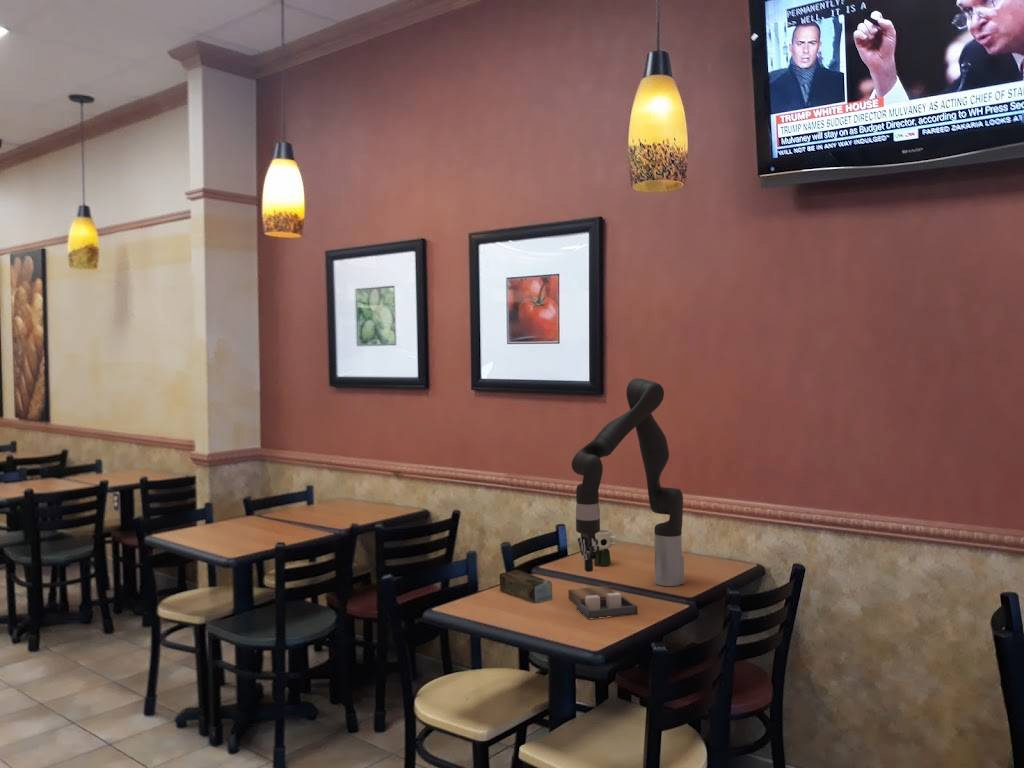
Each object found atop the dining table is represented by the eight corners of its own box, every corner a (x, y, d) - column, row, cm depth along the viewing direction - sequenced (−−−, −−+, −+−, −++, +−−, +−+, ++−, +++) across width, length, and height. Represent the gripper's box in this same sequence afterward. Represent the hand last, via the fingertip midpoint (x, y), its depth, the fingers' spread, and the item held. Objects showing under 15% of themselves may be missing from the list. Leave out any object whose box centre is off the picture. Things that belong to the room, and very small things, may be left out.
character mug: (585, 565, 308) (585, 531, 308) (591, 561, 315) (591, 527, 314) (613, 568, 304) (613, 533, 303) (619, 563, 310) (618, 529, 310)
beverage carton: (534, 604, 263) (534, 584, 263) (498, 591, 278) (498, 572, 278) (553, 599, 268) (553, 579, 268) (516, 586, 283) (516, 567, 283)
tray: (623, 604, 261) (623, 596, 261) (637, 614, 251) (637, 606, 251) (576, 609, 256) (576, 601, 256) (588, 619, 247) (588, 611, 247)
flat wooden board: (605, 594, 271) (605, 585, 271) (618, 604, 261) (618, 595, 261) (568, 598, 268) (568, 589, 268) (580, 608, 257) (580, 599, 257)
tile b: (597, 594, 256) (600, 597, 254) (597, 607, 256) (600, 609, 254) (585, 595, 255) (587, 598, 253) (585, 608, 255) (588, 611, 253)
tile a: (617, 592, 259) (621, 594, 256) (618, 604, 259) (621, 607, 256) (606, 593, 257) (609, 595, 255) (606, 606, 258) (609, 608, 255)
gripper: (607, 520, 252) (607, 575, 253) (591, 511, 264) (592, 564, 265) (584, 522, 250) (585, 578, 251) (569, 513, 262) (570, 566, 263)
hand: (588, 571), depth 258 cm, fingers closed
